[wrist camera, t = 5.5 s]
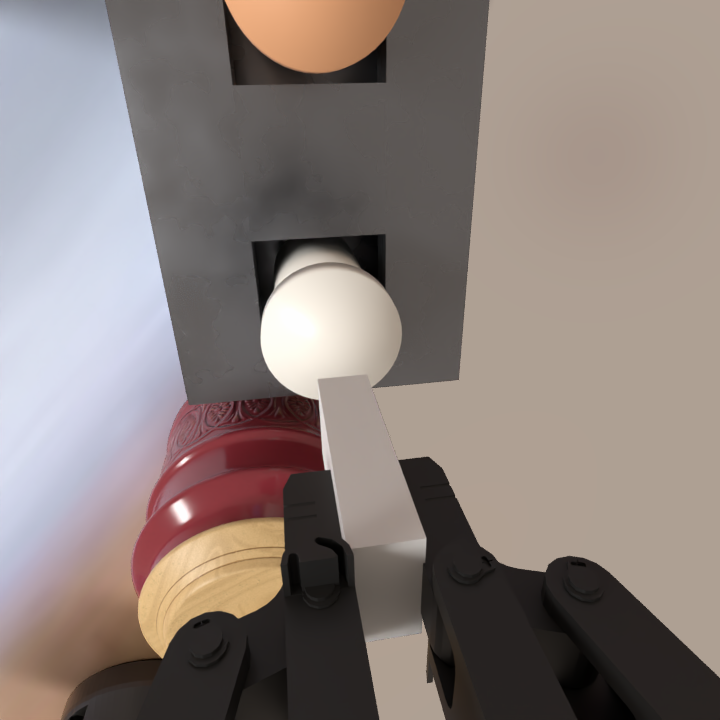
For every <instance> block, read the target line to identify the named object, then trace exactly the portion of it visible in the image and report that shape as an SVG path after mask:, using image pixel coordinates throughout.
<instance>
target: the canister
mask: <svg viewBox="0 0 720 720" xmlns="http://www.w3.org/2000/svg"><path fill="white" fill-rule="evenodd" d="M322 470H325V467H324V460H323V454H322V440H321V425H320V410H319V400H316V399H311V398H307V397H304V396H301V395H293V396H283V397H272V398H261V399H251V400H240V401H230V402H219V403H208V404H198V405H189V403H188V400H187V401H186V402H185V403H184V405H183V406H182V408H181V409H180V411H179V412H178V414H177V416H176V418H175V420H174V423H173V426H172V429H171V431H170V434H169V438H168V444H167V455H166V458H165V461H164V465H163V468H162V471H161V474H160V478H159V479H158V481H157V483H156V484H155V486H154V488H153V490H152V493H151V495H150V498H149V501H148V506H147V512H146V524H145V525H144V527H143V529H142V530H141V532H140V534H139V536H138V538H137V540H136V543H135V546H134V549H133V553H132V560H131V574H132V581H133V585H134V588H135V591H136V594H137V596H138V598H139V603H138V618H139V624H140V628H141V630H142V633H143V635H144V637H145V639H146V641H147V642H148V644H149V645H150V646H151V648H152V649H153V650H154V651H155V652H156V653H157V654H158V655H159V656H160V657H161V658H162V659H163V657H164V655H165V652H166V650H167V648H168V646H169V643H170V642H171V640H172V639H173V637H174V636H175V634H176V632H177V631H178V630H179V629H180V628H181V627H182V626H183V625H184V624H186V623H187V622H188V621H189V620H190V619H192V618H194V617H196V616H199V615H201V614H203V613H205V612H214V611H223V612H227V613H231V614H233V615H235V616H236V617H237V618H238V619H239V618H241V617H243V616H245V615H247V614H249V613H252V612H254V611H256V610H258V609H259V608H261V607H263V606H265V605H266V604H267V603H269V602H270V601H271V600H272V599H273V598H274V597H275V596H276V595H277V593H278V592H279V590H280V589H281V587H282V585H283V583H282V575H281V567H280V564H281V560H282V555H283V553H284V551H285V541H284V511H283V509H284V507H283V488H284V486H285V484H286V482H287V480H288V478H289V477H290V475H291V474H297V473H305V472H314V471H322Z"/></svg>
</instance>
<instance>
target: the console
mask: <svg viewBox="0 0 720 720" xmlns="http://www.w3.org/2000/svg"><path fill="white" fill-rule="evenodd" d="M105 2H106V7H107V12H108V16H109V21H110V26H111V31H112V36H113V41H114V45H115V50H116V55H117V60H118V65H119V70H120V74H121V79H122V84H123V89H124V94H125V99H126V103H127V108H128V113H129V118H130V123H131V128H132V133H133V137H134V142H135V147H136V152H137V157H138V162H139V166H140V171H141V176H142V181H143V186H144V191H145V195H146V200H147V205H148V210H149V215H150V220H151V224H152V229H153V234H154V239H155V244H156V249H157V253H158V258H159V263H160V268H161V273H162V278H163V282H164V287H165V292H166V297H167V302H168V307H169V311H170V316H171V321H172V326H173V331H174V336H175V341H176V345H177V350H178V355H179V360H180V365H181V370H182V374H183V379H184V384H185V389H186V394H187V399H188V403H189V405H198V404H208V403H219V402H230V401H240V400H251V399H261V398H272V397H283V396H293V395H299V394H297V393H294V392H293V391H291V390H289V389H288V388H286V387H285V386H284V385H283V384H281V383H280V382H279V381H278V380H277V379H276V378H275V377H274V375H273V374H272V373H271V371H270V370H269V368H268V366H267V364H266V362H265V359H264V357H263V354H262V348H261V323H262V315H263V311H264V307H265V305H266V303H267V300H268V298H269V297H270V295H271V293H272V292H273V291H274V263H275V259H276V256H277V253H278V251H279V250H280V248H281V247H282V245H283V244H284V243H285V242H286V241H287V240H288V239H305V238H323V237H340V238H342V239H343V240H344V241H345V242H346V243H347V244H348V246H349V247H350V248H351V250H352V252H353V254H354V256H355V258H356V260H357V261H358V263H359V265H360V267H361V269H362V270H364V271H366V272H367V273H369V274H371V275H372V276H373V277H374V278H376V279H377V280H378V281H379V282H380V283H381V284H382V286H383V287H384V288H385V290H386V291H387V293H388V294H389V296H390V298H391V299H392V301H393V303H394V305H395V307H396V309H397V311H398V314H399V317H400V321H401V326H402V339H401V346H400V350H399V353H398V356H397V358H396V360H395V362H394V364H393V366H392V367H391V369H390V370H389V371H388V373H387V374H386V375H385V376H384V377H383V378H382V379H381V380H380V381H379V382H378V383H377V384H376V385H374V386H373V387H372V388H377V387H389V386H399V385H410V384H420V383H431V382H441V381H452V380H459V369H460V358H461V345H462V332H463V320H464V308H465V295H466V282H467V271H468V258H469V246H470V233H471V220H472V209H473V208H472V207H473V196H474V183H475V170H476V159H477V146H478V133H479V122H480V121H479V120H480V109H481V97H482V96H481V95H482V84H483V71H484V60H485V47H486V34H487V22H488V10H489V0H405V2H404V5H403V7H402V10H401V12H400V15H399V17H398V19H397V21H396V22H395V24H394V26H393V28H392V29H391V31H390V32H389V34H388V35H387V36H386V38H385V39H384V40H383V41H382V42H381V43H380V45H379V46H378V47H377V48H376V49H375V50H374V51H372V52H371V53H370V54H369V55H367V56H366V57H365V58H363V59H361V60H360V61H358V62H356V63H355V64H352V65H350V66H348V67H346V68H343V69H341V70H338V71H334V72H330V73H321V74H313V73H303V72H298V71H294V70H292V69H289V68H286V67H283V66H282V65H280V64H278V63H276V62H274V61H272V60H271V59H270V58H268V57H267V56H265V55H264V54H263V53H261V52H260V51H259V50H258V49H257V48H256V47H255V46H254V45H253V44H252V43H251V42H250V41H249V39H248V38H247V37H246V36H245V35H244V33H243V32H242V31H241V29H240V28H239V26H238V25H237V23H236V21H235V20H234V18H233V16H232V14H231V12H230V10H229V8H228V6H227V4H226V2H225V0H105Z"/></svg>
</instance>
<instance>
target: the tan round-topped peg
mask: <svg viewBox="0 0 720 720" xmlns="http://www.w3.org/2000/svg"><path fill="white" fill-rule="evenodd" d="M225 2H226V4H227V6H228V8H229V10H230V12H231V14H232V16H233V18H234V20H235V21H236V23H237V25H238V26H239V28H240V29H241V31H242V32H243V33H244V35H245V36H246V37H247V38H248V39H249V41H250V42H251V43H252V44H253V45H254V46H255V47H256V48H257V49H258V50H259V51H260V52H261V53H263V54H264V55H265V56H267V57H268V58H270V59H271V60H272V61H274V62H276V63H278V64H280V65H282V66H283V67H286V68H289V69H292V70H294V71H298V72H303V73H313V74H321V73H330V72H334V71H338V70H341V69H343V68H346V67H348V66H350V65H352V64H355V63H356V62H358V61H360V60H361V59H363V58H365V57H366V56H367V55H369V54H370V53H371V52H372V51H374V50H375V49H376V48H377V47H378V46H379V45H380V43H381V42H382V41H383V40H384V39H385V38H386V36H387V35H388V34H389V32H390V31H391V29H392V28H393V26H394V24H395V22H396V21H397V19H398V17H399V15H400V12H401V10H402V7H403V5H404V2H405V0H225Z"/></svg>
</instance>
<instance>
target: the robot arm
mask: <svg viewBox="0 0 720 720" xmlns="http://www.w3.org/2000/svg"><path fill="white" fill-rule="evenodd" d="M317 381H318V396H319V410H320V425H321V440H322V454H323V460H324V467H325V470H322V471H314V472H305V473H297V474H291V475H290V477H289V478H288V480H287V482H286V484H285V486H284V488H283V507H284V509H283V511H284V541H285V551H284V553H283V555H282V560H281V564H280V567H281V575H282V583H283V585H282V587H281V589H280V590H279V592H278V593H277V595H276V596H275V597H274V598H273V599H272V600H271V601H270V602H269V603H267V604H266V605H265V606H263V607H261V608H259V609H258V610H256V611H254V612H252V613H249V614H247V615H245V616H243V617H241V618H239V619H238V618H237V617H236V616H235V615H233V614H231V613H227V612H223V611H214V612H205V613H203V614H201V615H199V616H196V617H194V618H192V619H190V620H189V621H188V622H187V623H186V624H184V625H183V626H182V627H181V628H180V629H179V630H178V631H177V632H176V634H175V636H174V637H173V639H172V640H171V642H170V643H169V646H168V648H167V650H166V652H165V655H164V657H163V659H162V660H147V661H137V662H131V663H126V664H121V665H118V666H114V667H111V668H108V669H106V670H103V671H101V672H99V673H97V674H95V675H93V676H91V677H89V678H88V679H86V680H85V681H84V682H82V683H81V684H80V685H79V686H78V687H77V688H76V689H75V690H74V691H73V692H72V694H71V695H70V697H69V698H68V701H67V703H66V706H65V709H64V712H63V715H62V718H61V720H379V715H378V710H377V705H376V699H375V694H374V688H373V682H372V677H371V671H370V666H369V660H368V655H367V649H366V643H365V642H371V641H377V640H383V639H389V638H395V637H401V636H407V635H413V634H419V633H421V632H422V618H423V622H424V625H425V629H426V632H427V635H428V654H427V670H426V673H427V683H431V682H432V681H433V677H434V680H435V684H436V687H437V691H438V694H439V698H440V701H441V704H442V708H443V712H444V715H445V719H446V720H720V678H719V677H718V676H717V675H716V674H715V673H714V672H713V671H712V670H711V669H710V668H709V667H708V666H706V664H704V663H703V661H701V660H700V659H699V658H698V657H697V656H696V655H695V654H694V653H693V652H692V651H691V650H690V649H689V648H688V647H687V646H686V645H685V644H683V642H682V641H680V640H679V639H678V638H677V637H676V636H675V635H674V634H673V633H672V632H671V631H670V630H669V629H668V628H667V627H666V626H665V625H664V624H663V623H662V622H660V620H659V619H657V618H656V617H655V616H654V615H653V614H652V613H651V612H650V611H649V610H648V609H647V608H646V607H645V606H644V605H643V604H642V603H641V602H640V601H639V600H637V599H636V598H635V597H634V596H633V595H632V594H631V593H630V592H629V591H628V590H627V589H626V588H625V587H624V586H623V585H622V584H621V583H619V581H618V580H617V579H616V578H614V577H613V576H612V575H611V574H610V573H609V572H608V571H606V570H605V569H604V568H602V567H601V566H600V565H598V564H597V563H594V562H592V561H589V560H587V559H585V558H580V557H573V556H567V557H562V558H557V559H556V560H554V561H553V562H551V563H550V564H549V565H548V568H547V570H546V572H538V571H531V570H524V569H517V568H513V567H509V566H506V565H504V564H501V563H499V562H498V561H497V560H496V559H495V557H494V556H493V555H492V554H491V553H489V552H488V551H486V550H485V549H484V548H482V547H480V545H479V544H478V542H477V540H476V538H475V536H474V534H473V532H472V530H471V528H470V525H469V523H468V521H467V519H466V517H465V515H464V513H463V511H462V509H461V507H460V504H459V502H458V500H457V498H455V494H454V492H453V490H452V488H451V486H450V485H449V481H448V479H447V477H446V475H445V473H444V471H443V469H442V468H441V467H440V466H439V465H437V463H435V462H434V461H433V460H432V459H431V458H429V457H421V458H413V459H405V460H398V459H397V456H396V453H395V450H394V448H393V445H392V442H391V439H390V436H389V434H388V431H387V428H386V426H385V423H384V420H383V417H382V414H381V412H380V409H379V406H378V404H377V401H376V398H375V395H374V392H373V390H372V387H371V384H370V381H369V379H368V376H367V374H365V375H354V376H343V377H333V378H322V379H317Z"/></svg>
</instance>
